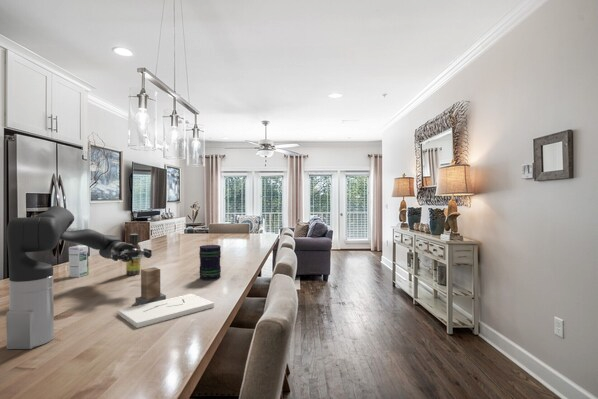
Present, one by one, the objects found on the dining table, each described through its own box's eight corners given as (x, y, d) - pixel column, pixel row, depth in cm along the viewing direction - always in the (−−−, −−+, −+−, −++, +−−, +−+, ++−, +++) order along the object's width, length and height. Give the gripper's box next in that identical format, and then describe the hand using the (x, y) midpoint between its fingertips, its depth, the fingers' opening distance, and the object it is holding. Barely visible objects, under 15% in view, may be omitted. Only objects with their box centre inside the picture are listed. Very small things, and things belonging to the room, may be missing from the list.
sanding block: (140, 306, 119) (140, 272, 119) (135, 303, 123) (135, 270, 122) (165, 300, 126) (165, 268, 125) (160, 297, 129) (159, 266, 129)
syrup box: (79, 277, 161) (78, 247, 161) (68, 276, 162) (68, 246, 162) (88, 274, 166) (88, 245, 166) (78, 274, 168) (78, 244, 168)
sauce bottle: (131, 276, 163) (131, 235, 163) (123, 274, 166) (123, 234, 166) (143, 273, 169) (143, 233, 169) (135, 272, 172) (135, 233, 172)
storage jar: (212, 274, 167) (212, 244, 167) (225, 277, 161) (225, 246, 161) (195, 278, 160) (195, 246, 159) (207, 281, 153) (207, 248, 153)
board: (137, 327, 99) (137, 322, 99) (118, 314, 111) (118, 310, 111) (214, 307, 118) (214, 302, 118) (191, 297, 129) (191, 293, 129)
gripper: (104, 244, 138) (118, 249, 127) (140, 241, 148) (156, 245, 137) (105, 262, 138) (119, 269, 127) (140, 258, 148) (156, 263, 137)
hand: (138, 256), depth 132 cm, fingers open, 8 cm apart
